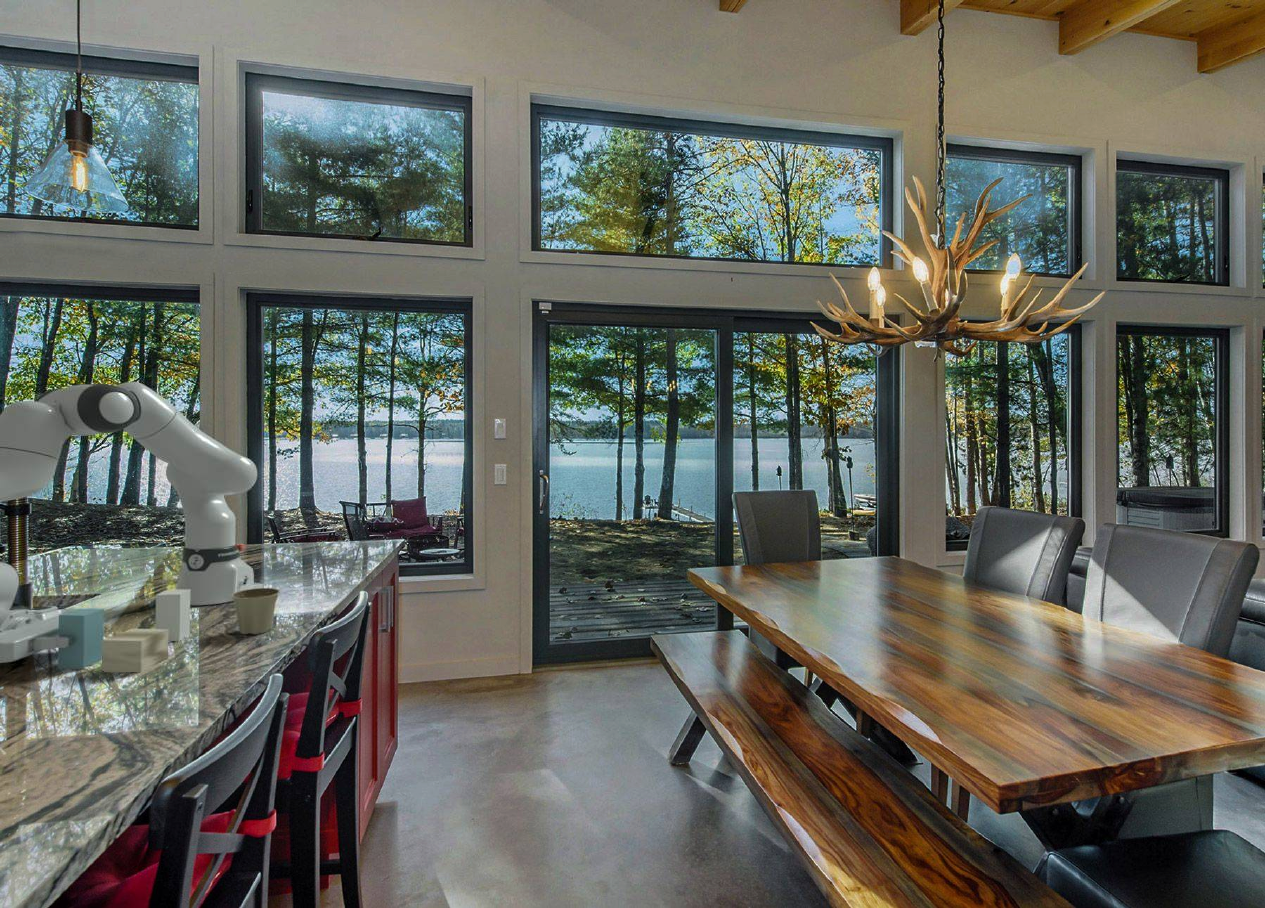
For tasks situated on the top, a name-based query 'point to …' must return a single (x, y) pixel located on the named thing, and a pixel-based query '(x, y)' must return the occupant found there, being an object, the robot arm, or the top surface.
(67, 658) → the teal block
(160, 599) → the white block
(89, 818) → the top surface
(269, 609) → the flower pot
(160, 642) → the birch block
